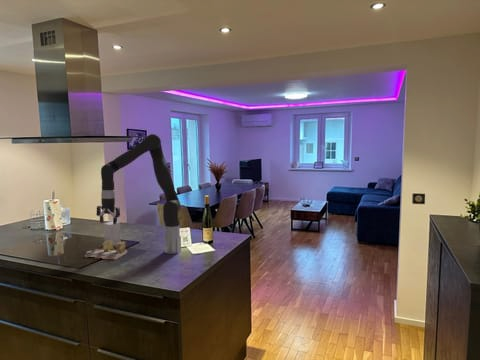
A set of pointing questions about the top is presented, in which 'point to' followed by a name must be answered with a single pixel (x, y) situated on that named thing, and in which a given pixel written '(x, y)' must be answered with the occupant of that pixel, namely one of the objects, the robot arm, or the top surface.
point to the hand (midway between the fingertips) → (108, 223)
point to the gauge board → (112, 254)
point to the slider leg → (108, 245)
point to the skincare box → (112, 232)
